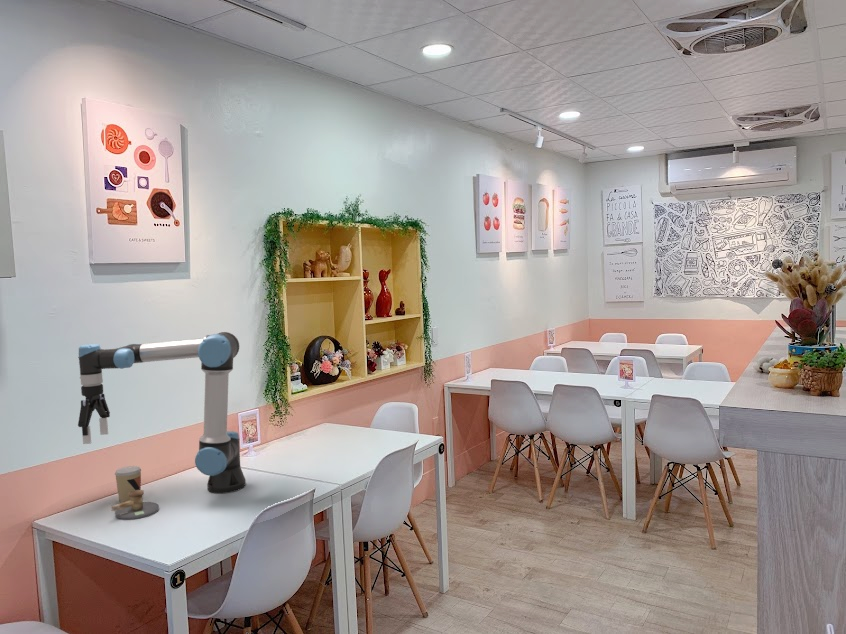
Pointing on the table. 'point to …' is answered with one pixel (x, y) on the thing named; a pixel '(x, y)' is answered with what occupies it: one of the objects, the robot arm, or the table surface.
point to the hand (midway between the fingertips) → (96, 438)
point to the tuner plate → (137, 511)
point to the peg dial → (131, 501)
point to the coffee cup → (128, 481)
